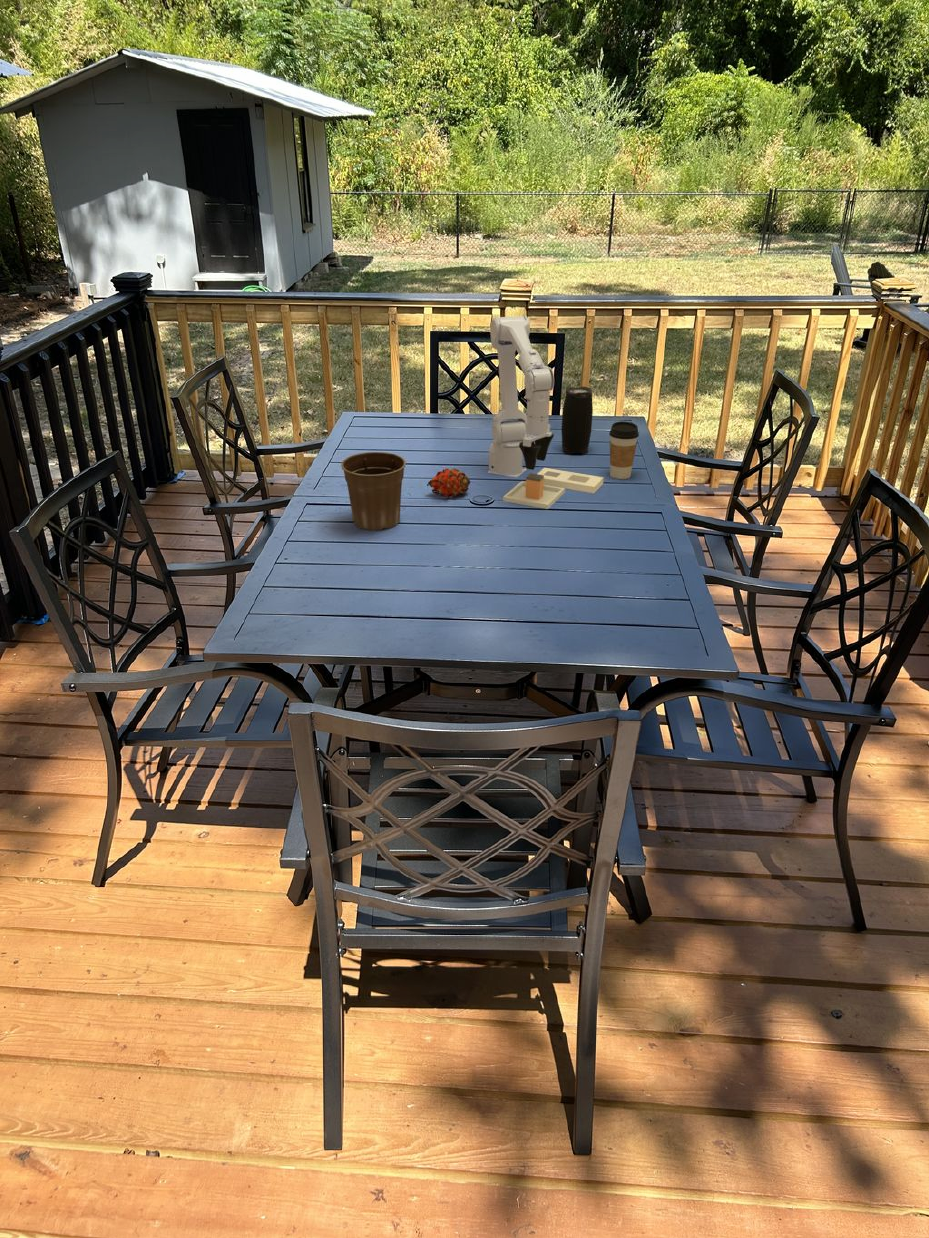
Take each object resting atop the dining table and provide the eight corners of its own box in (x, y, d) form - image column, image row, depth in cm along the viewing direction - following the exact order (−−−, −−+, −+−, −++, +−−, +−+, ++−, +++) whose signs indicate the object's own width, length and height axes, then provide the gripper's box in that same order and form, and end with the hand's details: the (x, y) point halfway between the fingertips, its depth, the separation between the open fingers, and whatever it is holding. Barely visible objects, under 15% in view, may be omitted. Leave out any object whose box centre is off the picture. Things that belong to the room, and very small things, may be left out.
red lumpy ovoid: (473, 502, 250) (431, 508, 252) (471, 476, 254) (429, 482, 255) (469, 486, 243) (425, 491, 244) (467, 459, 246) (424, 465, 247)
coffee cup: (633, 471, 267) (638, 421, 260) (635, 481, 260) (640, 430, 253) (605, 470, 268) (609, 420, 261) (606, 480, 261) (610, 429, 253)
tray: (503, 502, 246) (503, 496, 245) (521, 487, 256) (521, 481, 255) (547, 511, 241) (547, 504, 240) (564, 494, 251) (565, 488, 250)
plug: (525, 497, 248) (526, 476, 245) (529, 493, 250) (530, 473, 247) (539, 499, 247) (539, 479, 244) (543, 496, 249) (544, 475, 246)
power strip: (533, 484, 258) (534, 476, 256) (543, 475, 264) (544, 467, 263) (593, 495, 251) (594, 486, 250) (602, 485, 257) (603, 477, 256)
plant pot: (398, 537, 227) (396, 476, 219) (336, 531, 230) (332, 471, 222) (414, 512, 241) (412, 454, 233) (356, 507, 243) (352, 449, 235)
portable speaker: (554, 451, 282) (558, 389, 273) (575, 445, 288) (579, 383, 278) (575, 458, 277) (578, 395, 267) (595, 451, 282) (600, 389, 272)
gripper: (541, 424, 230) (539, 475, 237) (561, 409, 241) (559, 458, 248) (516, 421, 233) (514, 471, 239) (537, 406, 244) (535, 454, 251)
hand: (535, 464), depth 244 cm, fingers open, 7 cm apart
